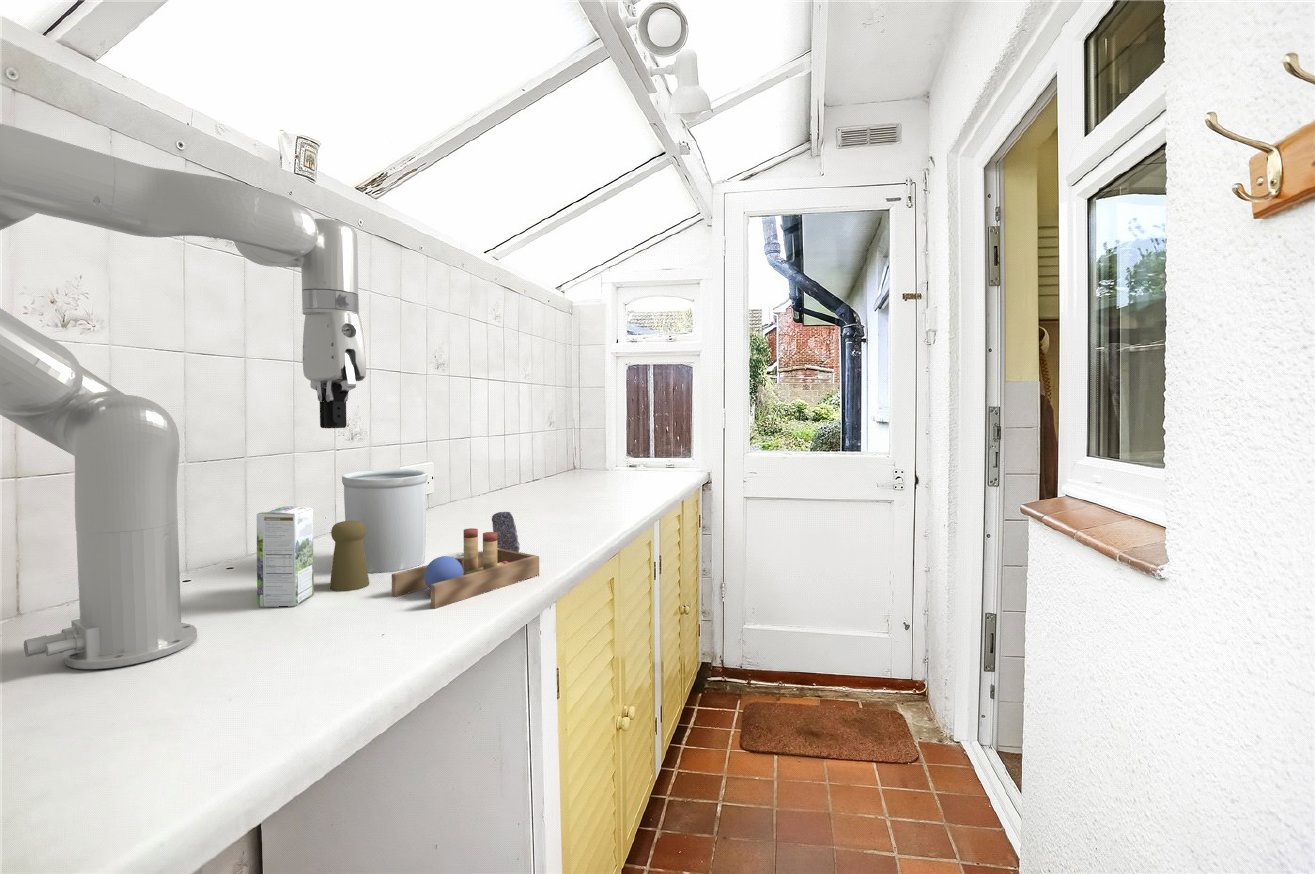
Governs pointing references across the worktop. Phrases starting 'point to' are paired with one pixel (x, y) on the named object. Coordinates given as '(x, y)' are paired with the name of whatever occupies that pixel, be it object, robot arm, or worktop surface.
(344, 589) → the cork
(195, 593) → the worktop surface
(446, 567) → the ball
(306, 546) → the syrup box
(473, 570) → the pin front
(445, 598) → the lane
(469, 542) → the pin
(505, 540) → the rock
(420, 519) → the utensil holder
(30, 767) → the worktop surface
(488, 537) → the pin
